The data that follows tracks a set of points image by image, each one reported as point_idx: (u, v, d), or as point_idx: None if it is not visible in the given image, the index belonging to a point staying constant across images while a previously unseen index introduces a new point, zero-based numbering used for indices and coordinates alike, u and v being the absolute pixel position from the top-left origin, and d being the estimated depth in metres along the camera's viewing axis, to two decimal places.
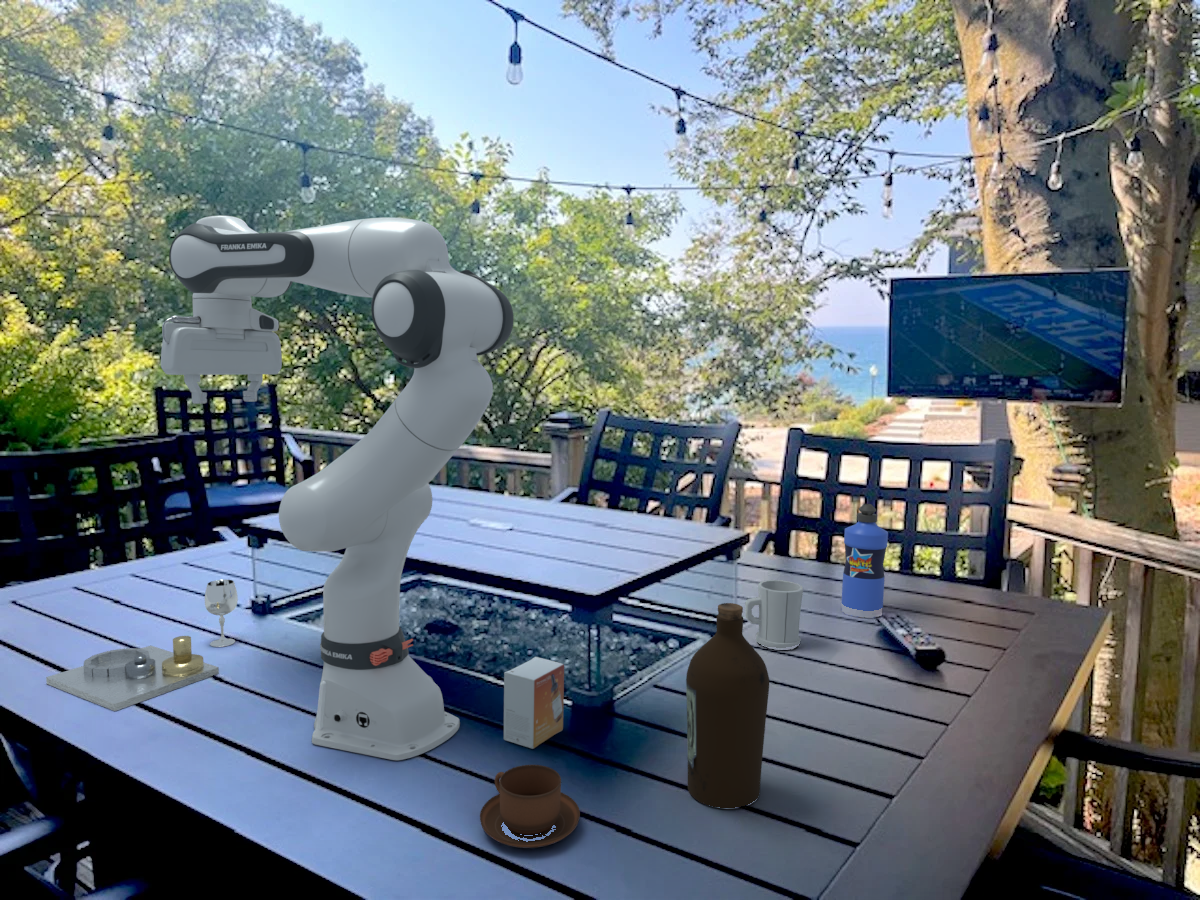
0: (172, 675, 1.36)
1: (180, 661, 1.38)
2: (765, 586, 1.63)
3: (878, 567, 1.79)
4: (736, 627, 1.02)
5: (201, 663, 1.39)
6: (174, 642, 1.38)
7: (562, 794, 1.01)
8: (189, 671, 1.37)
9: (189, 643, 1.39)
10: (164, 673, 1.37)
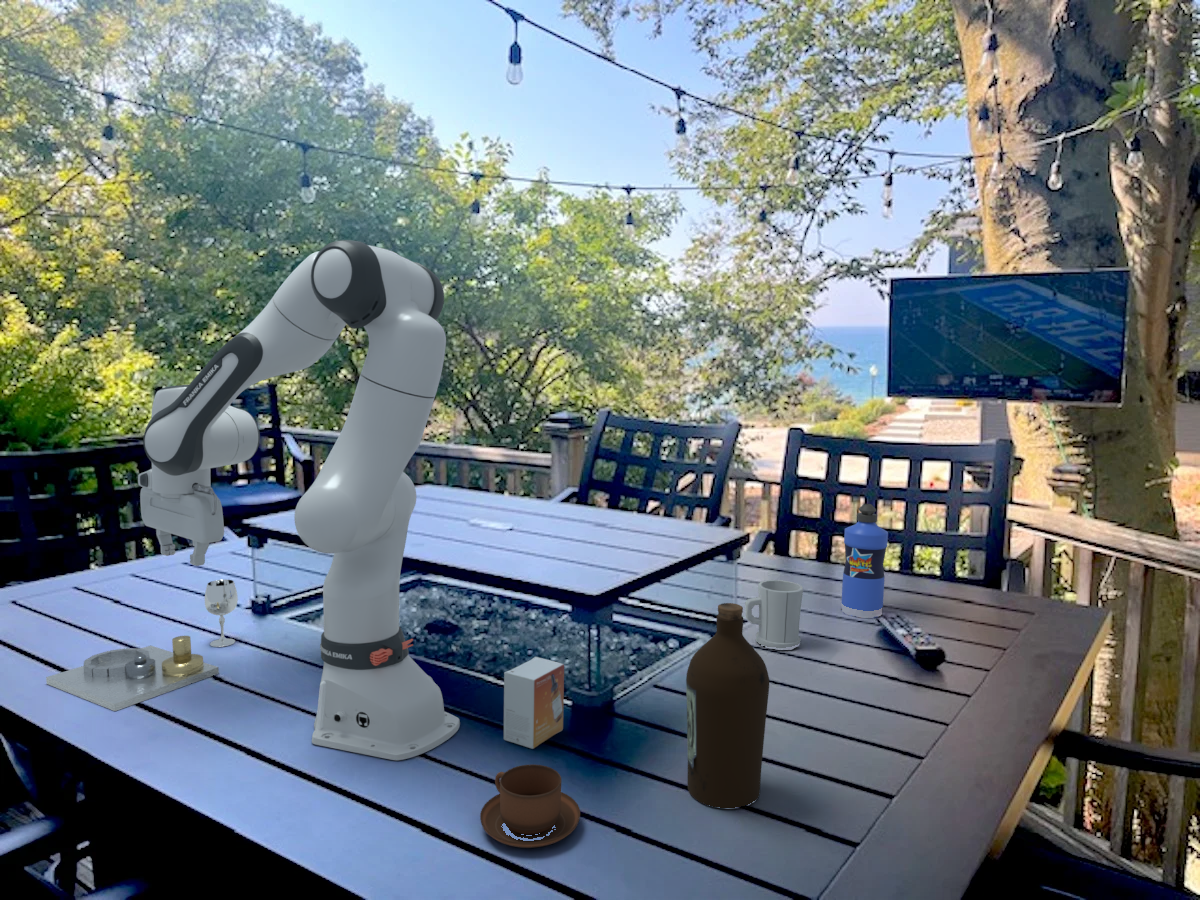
0: (172, 675, 1.36)
1: (180, 661, 1.38)
2: (765, 586, 1.63)
3: (878, 567, 1.79)
4: (736, 627, 1.02)
5: (201, 662, 1.39)
6: (173, 642, 1.38)
7: (562, 794, 1.01)
8: (189, 671, 1.37)
9: (189, 643, 1.39)
10: (164, 673, 1.37)
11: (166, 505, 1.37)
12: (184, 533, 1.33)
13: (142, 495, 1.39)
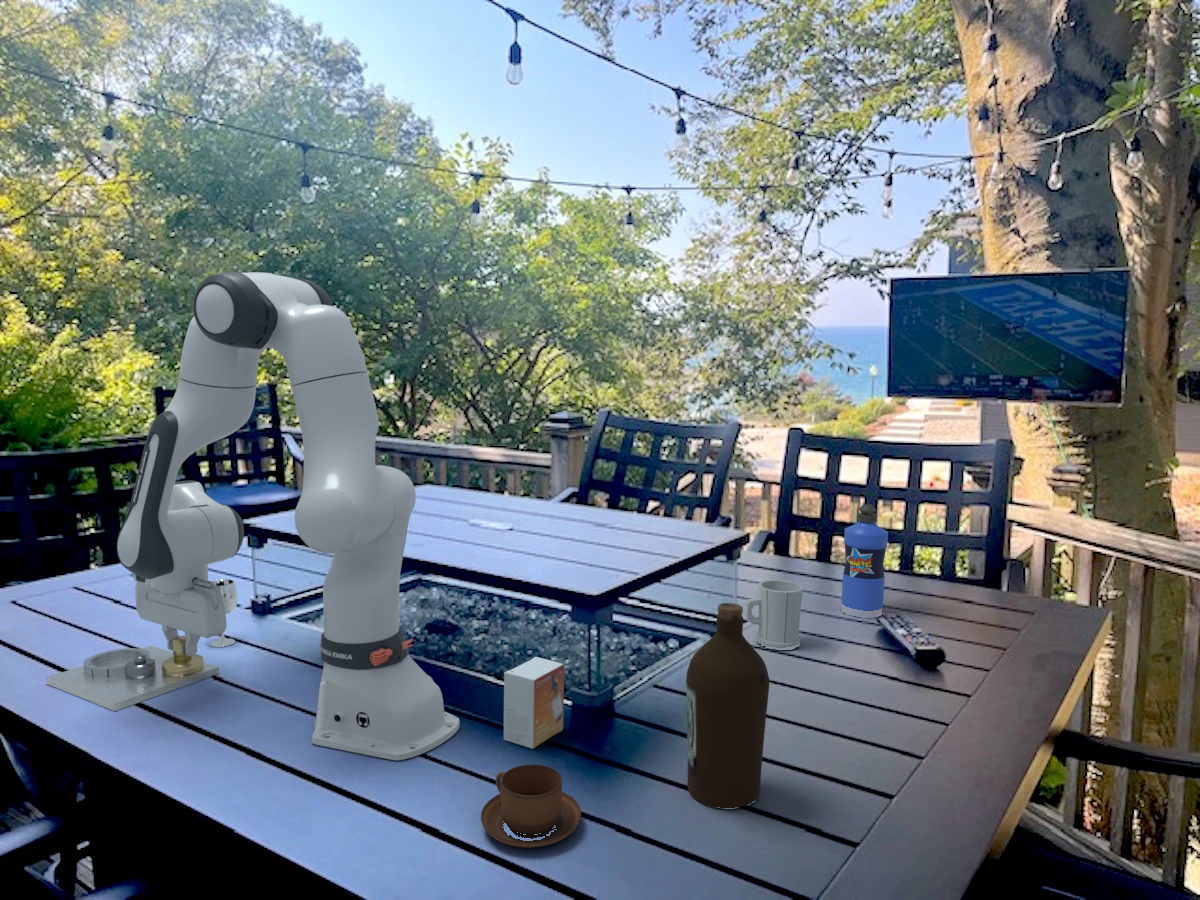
0: (173, 675, 1.36)
1: (180, 661, 1.38)
2: (765, 586, 1.63)
3: (878, 567, 1.79)
4: (736, 627, 1.02)
5: (201, 662, 1.40)
6: (174, 642, 1.38)
7: (563, 794, 1.01)
8: (190, 671, 1.37)
9: None
10: (165, 673, 1.37)
11: (164, 599, 1.38)
12: (185, 628, 1.35)
13: (137, 589, 1.40)
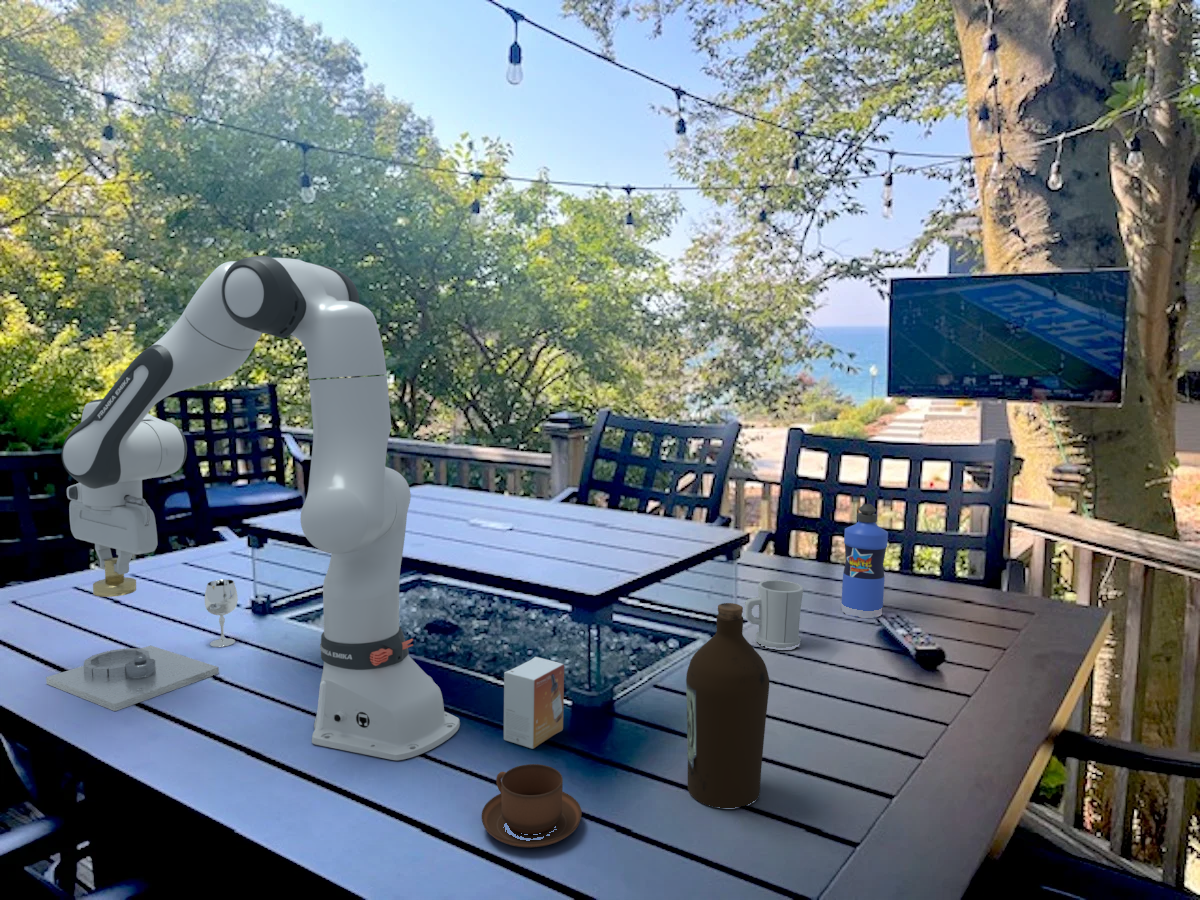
0: (103, 595, 1.36)
1: (112, 582, 1.38)
2: (765, 586, 1.63)
3: (878, 567, 1.79)
4: (736, 627, 1.02)
5: (134, 585, 1.39)
6: (106, 563, 1.37)
7: (564, 793, 1.01)
8: (121, 591, 1.37)
9: None
10: (95, 593, 1.36)
11: (96, 517, 1.37)
12: (116, 545, 1.35)
13: (71, 508, 1.40)
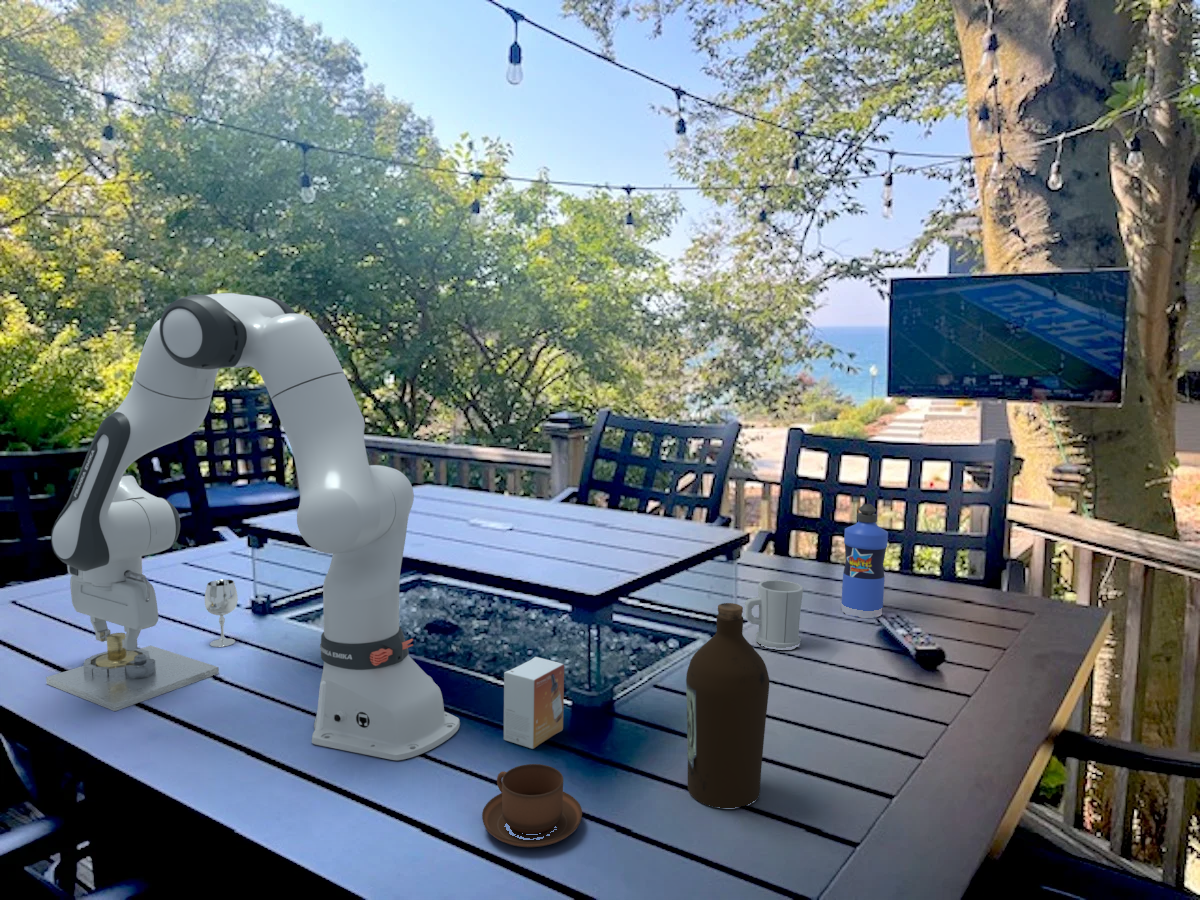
0: None
1: (114, 658, 1.39)
2: (765, 586, 1.63)
3: (878, 567, 1.79)
4: (736, 627, 1.02)
5: None
6: (108, 639, 1.39)
7: (564, 793, 1.01)
8: None
9: None
10: None
11: (97, 592, 1.39)
12: (117, 620, 1.36)
13: (72, 583, 1.41)
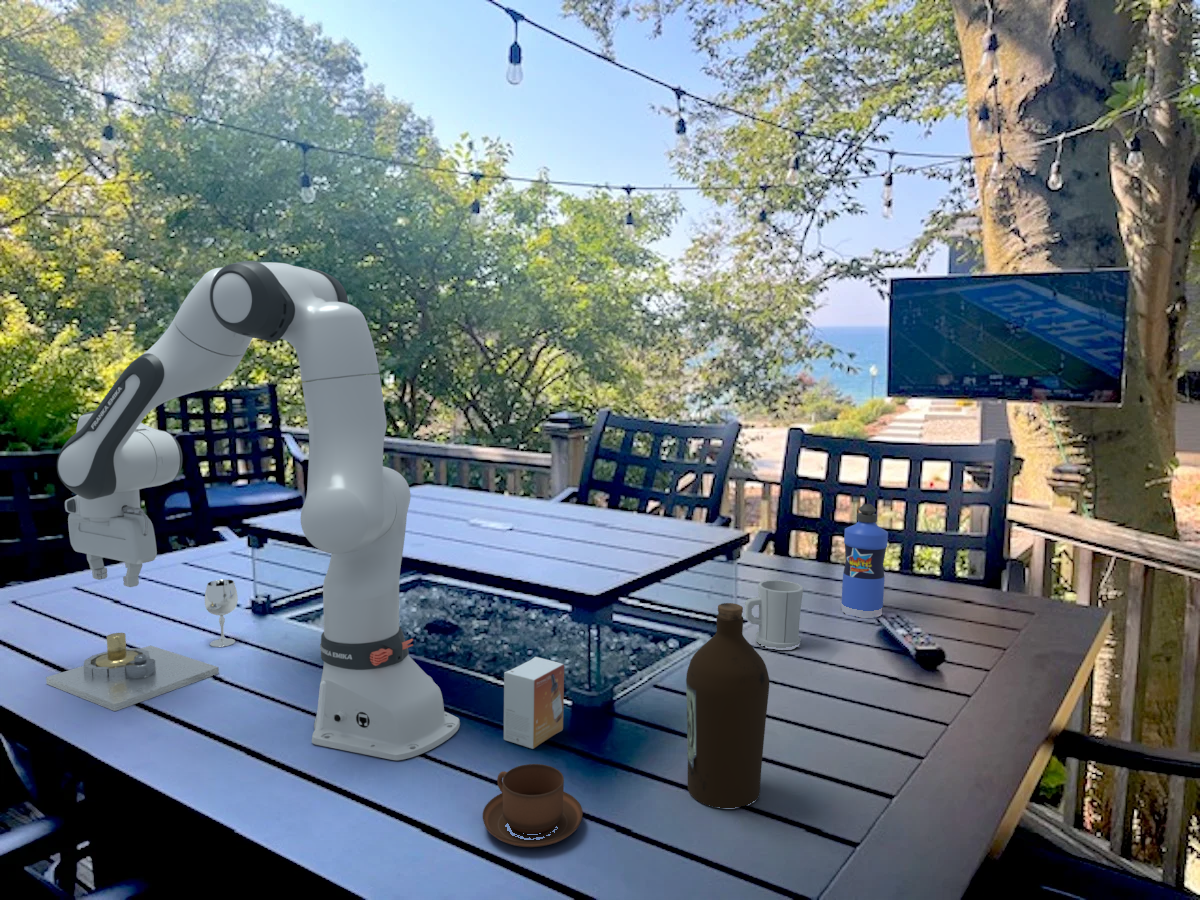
0: None
1: (114, 658, 1.39)
2: (765, 586, 1.63)
3: (878, 567, 1.79)
4: (736, 627, 1.02)
5: None
6: (108, 639, 1.39)
7: (565, 793, 1.01)
8: None
9: (123, 640, 1.40)
10: None
11: (95, 529, 1.38)
12: (116, 556, 1.35)
13: (70, 521, 1.40)
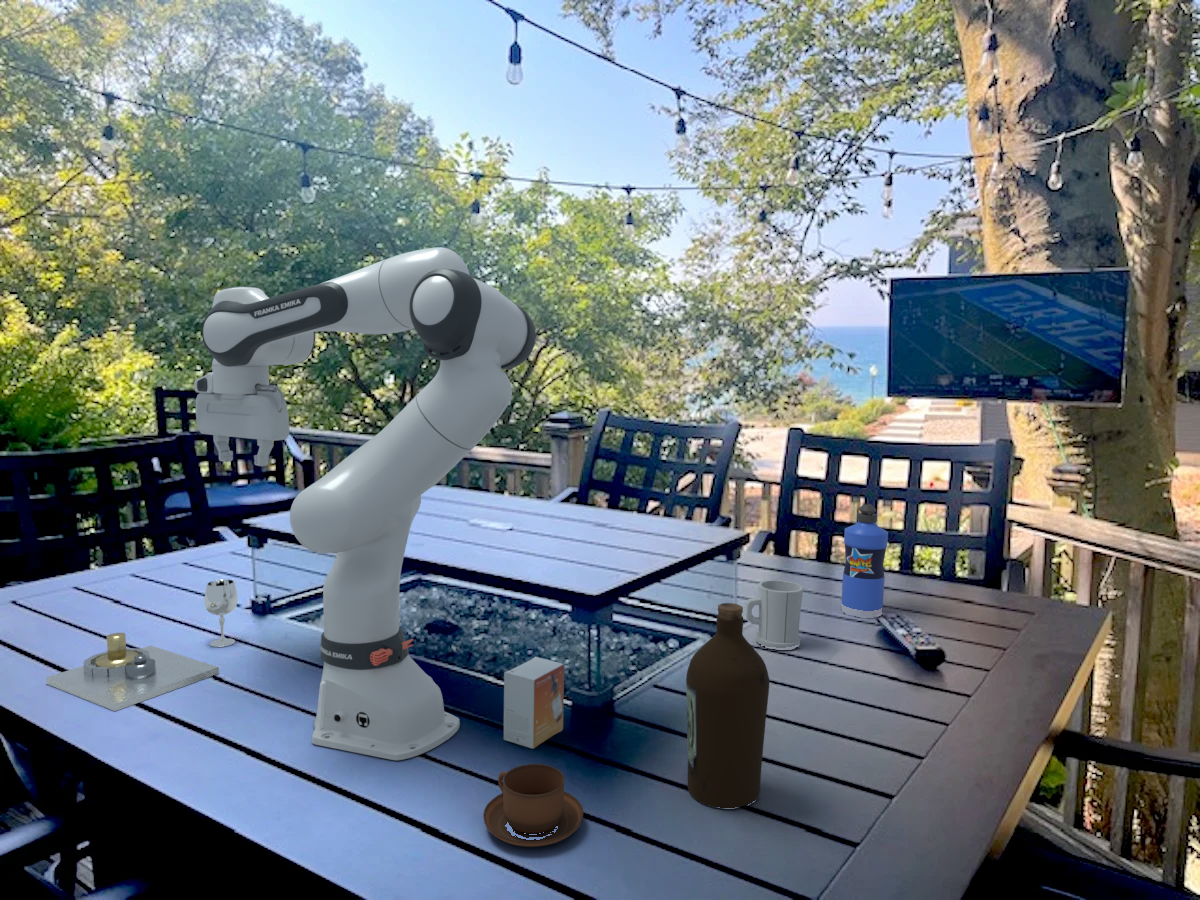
0: None
1: (114, 658, 1.39)
2: (765, 586, 1.63)
3: (878, 567, 1.79)
4: (736, 627, 1.02)
5: None
6: (108, 639, 1.39)
7: (565, 793, 1.01)
8: None
9: (123, 640, 1.40)
10: None
11: (225, 409, 1.38)
12: (248, 433, 1.35)
13: (198, 402, 1.40)
